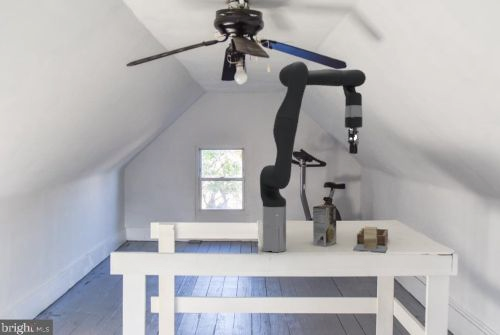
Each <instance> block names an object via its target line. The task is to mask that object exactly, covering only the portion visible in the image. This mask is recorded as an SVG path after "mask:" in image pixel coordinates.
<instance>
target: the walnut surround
mask: <svg viewBox="0 0 500 335" xmlns="http://www.w3.org/2000/svg"><path fill="white" fill-rule="evenodd" d="M388 239H389V229H387V228H386V229H383V228H377V245H378V246H387V243H388V241H389V240H388ZM357 244H363V245H364V227H362V228H361V229H360V230H359V232H357V233H356V245H357Z"/></svg>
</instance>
